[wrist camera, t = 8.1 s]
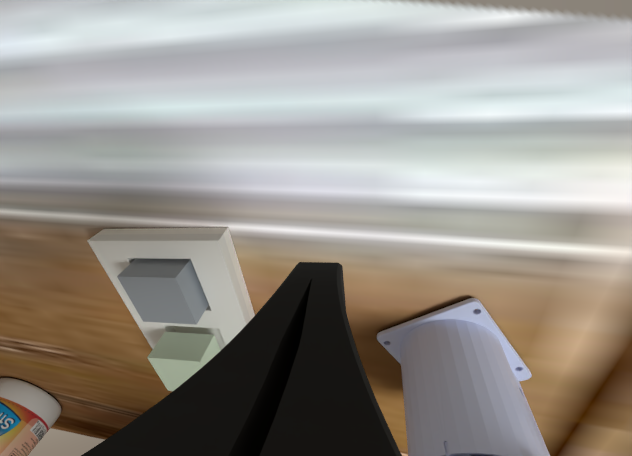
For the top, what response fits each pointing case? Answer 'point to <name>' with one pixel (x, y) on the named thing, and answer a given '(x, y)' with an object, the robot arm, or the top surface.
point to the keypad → (209, 263)
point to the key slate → (164, 290)
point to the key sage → (181, 356)
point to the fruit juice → (24, 416)
